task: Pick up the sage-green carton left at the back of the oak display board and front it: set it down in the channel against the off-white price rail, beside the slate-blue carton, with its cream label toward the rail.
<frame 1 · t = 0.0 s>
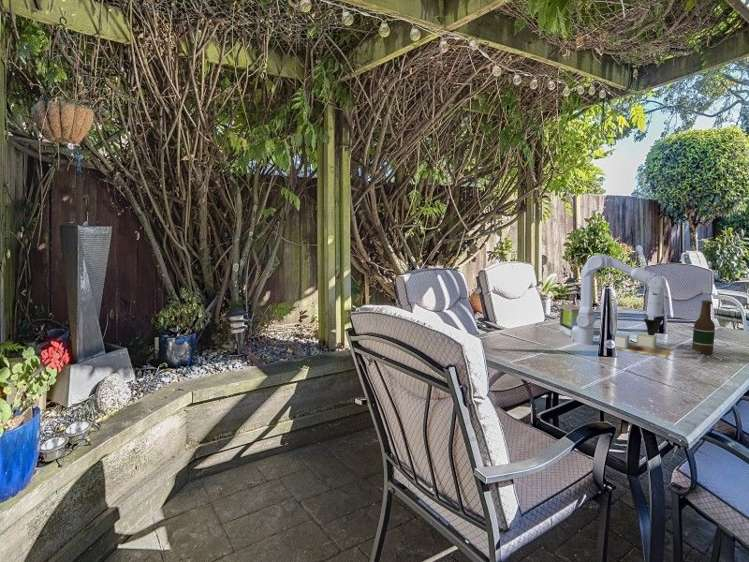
hand: (653, 333, 198), 10 cm above the table, tool pointing down, fingers open, 7 cm apart
display board: (638, 351, 206), on the table
tea box: (573, 334, 241), on the table
sage carton: (645, 347, 208), point 1 cm above the table, touching display board
beer bottle: (701, 353, 204), on the table
slate carton: (618, 348, 207), point 1 cm above the table, touching display board
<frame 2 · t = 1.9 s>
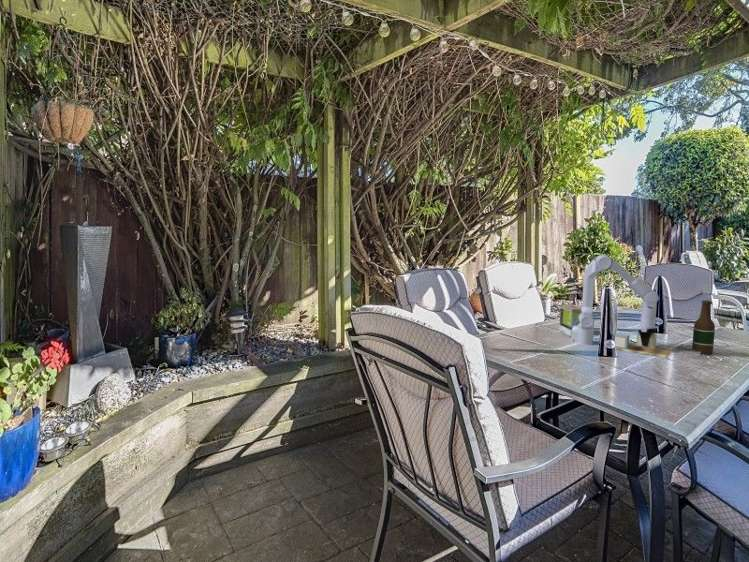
hand: (646, 344, 208), 3 cm above the table, tool pointing down, fingers closed on sage carton, 5 cm apart
sage carton: (645, 347, 208), point 1 cm above the table, touching display board, gripper
everything else where it was.
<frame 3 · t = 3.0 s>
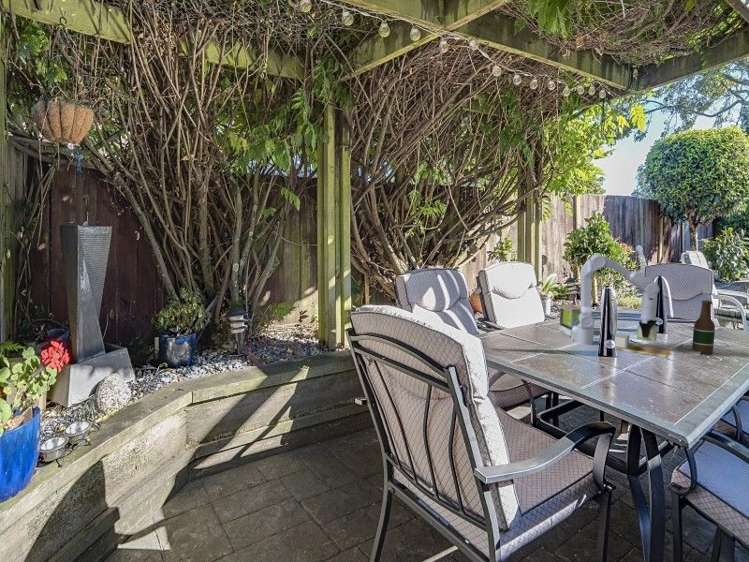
hand: (646, 336, 208), 7 cm above the table, tool pointing down, fingers closed on sage carton, 5 cm apart
sage carton: (646, 339, 208), point 5 cm above the table, touching gripper
everything else where it was.
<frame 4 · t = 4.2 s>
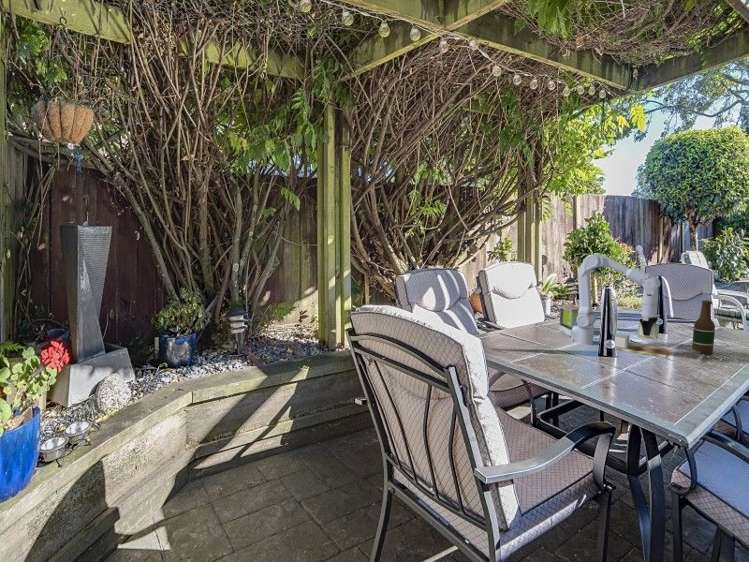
hand: (647, 334, 199), 10 cm above the table, tool pointing down, fingers closed on sage carton, 5 cm apart
sage carton: (647, 337, 199), point 8 cm above the table, touching gripper
everything else where it was.
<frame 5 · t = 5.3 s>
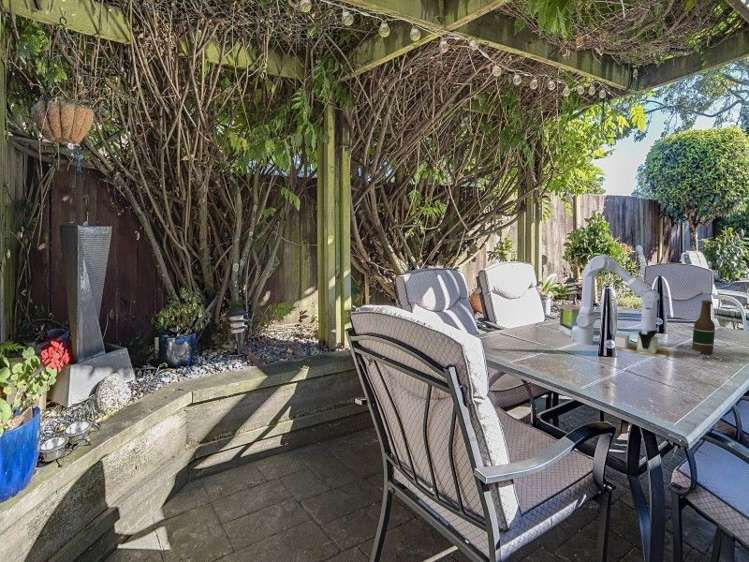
hand: (646, 347, 200), 4 cm above the table, tool pointing down, fingers closed on sage carton, 5 cm apart
sage carton: (646, 350, 200), point 2 cm above the table, touching gripper
everything else where it was.
when the fingers open (4 cm above the table, at t = 6.1 s): sage carton stays where it is, resting on display board.
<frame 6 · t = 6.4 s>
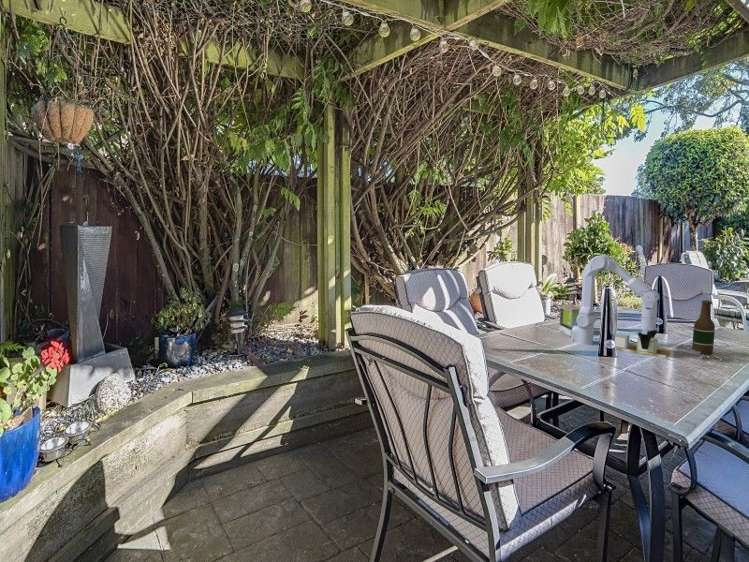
hand: (646, 347, 200), 4 cm above the table, tool pointing down, fingers open, 7 cm apart
sage carton: (646, 352, 200), point 1 cm above the table, touching display board
everything else where it was.
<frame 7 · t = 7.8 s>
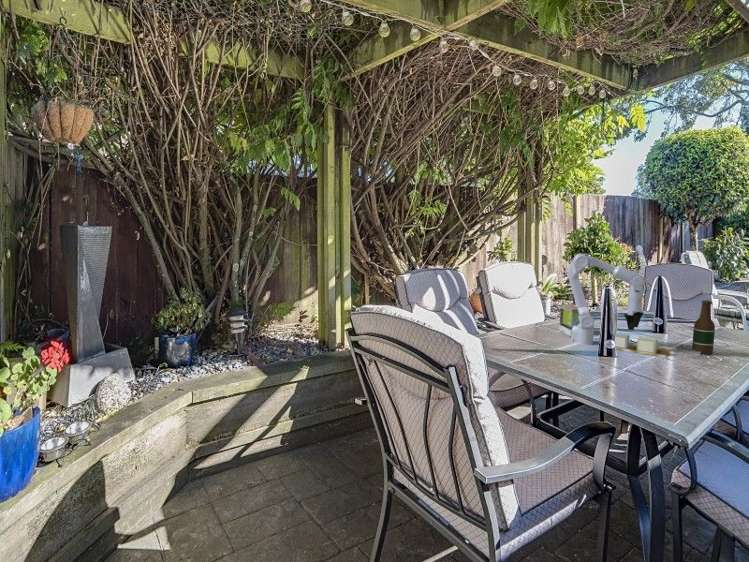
hand: (632, 328, 209), 10 cm above the table, tool pointing down, fingers open, 7 cm apart
nothing on the table moved.
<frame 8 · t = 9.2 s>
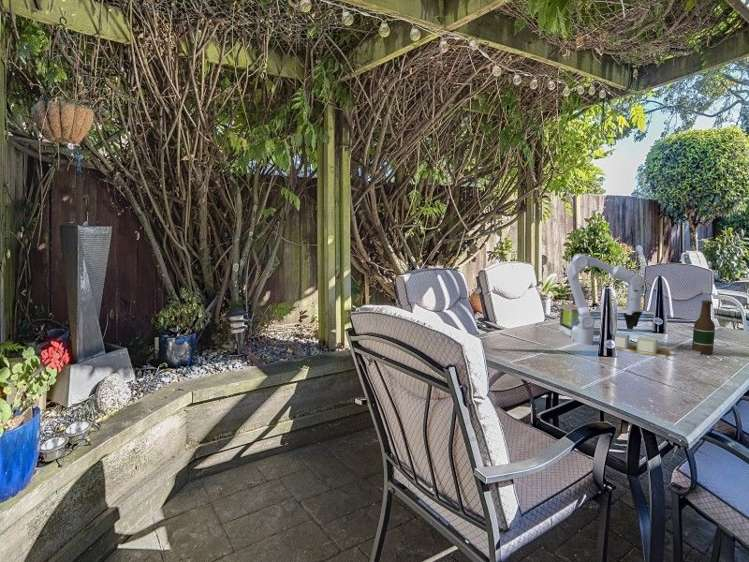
hand: (631, 327, 210), 10 cm above the table, tool pointing down, fingers open, 7 cm apart
nothing on the table moved.
at the end: sage carton inside the target area (0.1 cm from its centre), point 1.2 cm above the table; sage carton tilted 0°; the gripper is holding nothing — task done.
